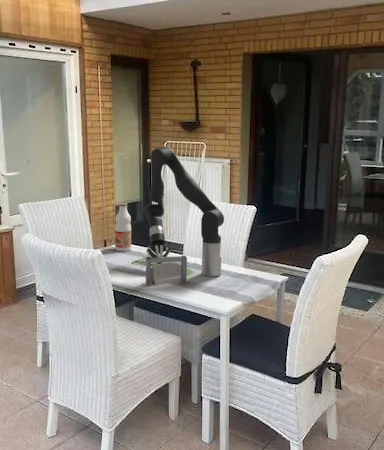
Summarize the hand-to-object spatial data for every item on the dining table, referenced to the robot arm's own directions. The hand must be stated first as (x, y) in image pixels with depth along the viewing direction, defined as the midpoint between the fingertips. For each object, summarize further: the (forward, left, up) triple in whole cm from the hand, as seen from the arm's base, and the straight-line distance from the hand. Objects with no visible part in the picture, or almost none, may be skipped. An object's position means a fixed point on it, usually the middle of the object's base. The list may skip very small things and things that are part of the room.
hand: (160, 265), depth 251 cm
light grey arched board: (-1, +12, -5) cm, 13 cm away
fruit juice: (+15, -51, -5) cm, 53 cm away
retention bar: (0, +16, -4) cm, 17 cm away
